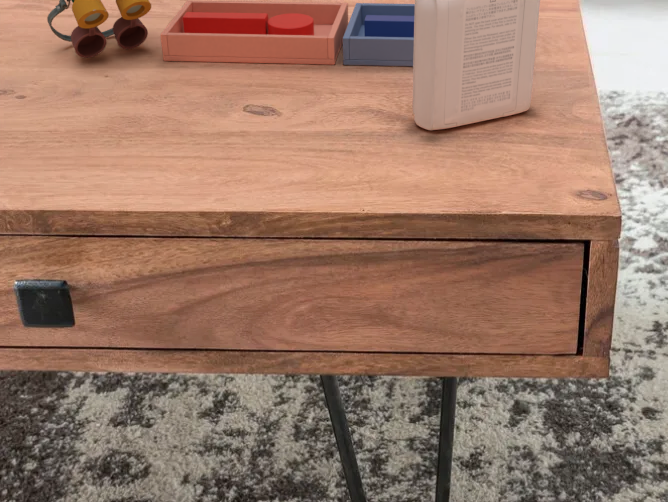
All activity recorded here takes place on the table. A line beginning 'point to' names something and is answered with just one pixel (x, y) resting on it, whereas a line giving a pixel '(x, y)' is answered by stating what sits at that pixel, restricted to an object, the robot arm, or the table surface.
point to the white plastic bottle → (472, 60)
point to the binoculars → (93, 14)
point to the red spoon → (248, 23)
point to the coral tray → (259, 35)
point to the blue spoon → (389, 26)
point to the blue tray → (377, 38)
